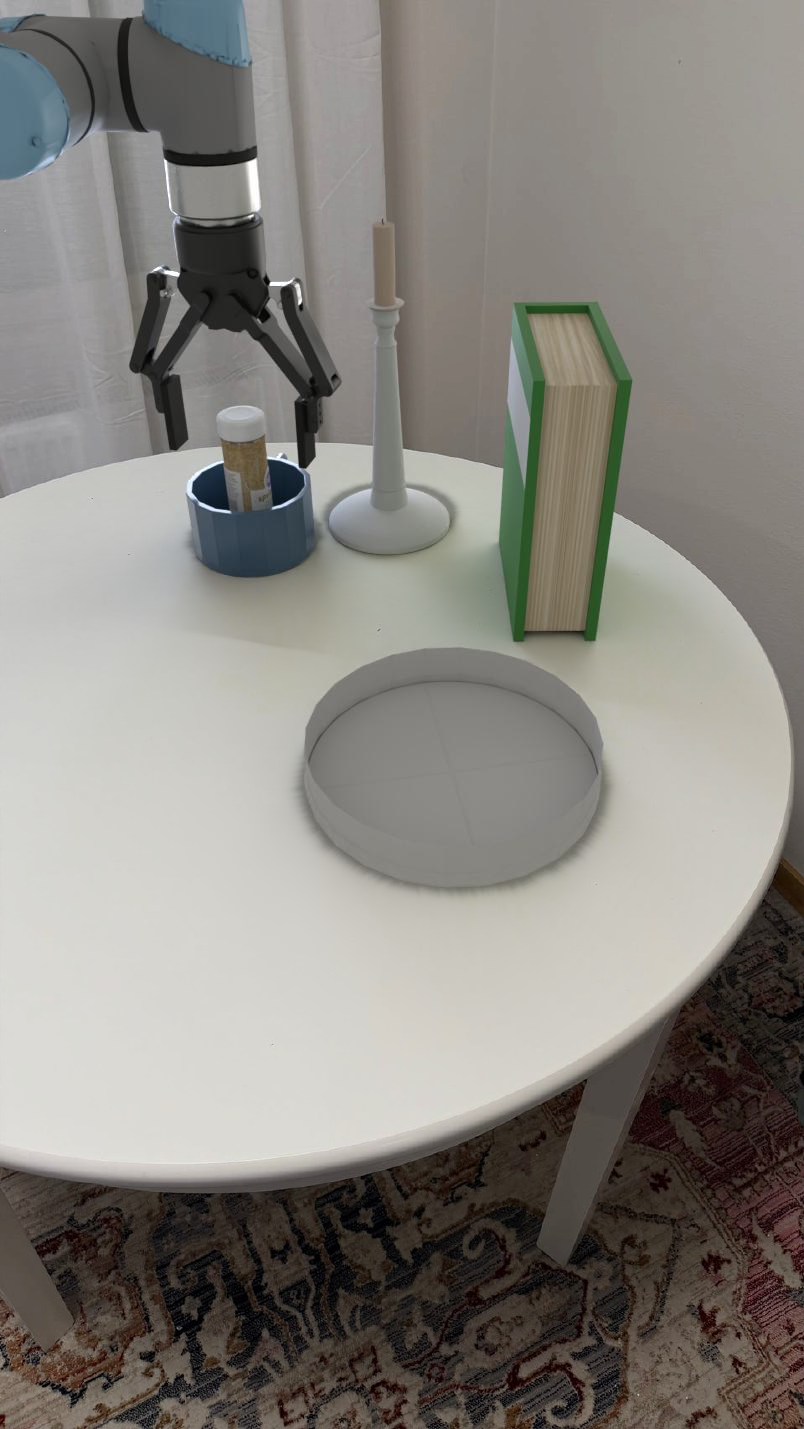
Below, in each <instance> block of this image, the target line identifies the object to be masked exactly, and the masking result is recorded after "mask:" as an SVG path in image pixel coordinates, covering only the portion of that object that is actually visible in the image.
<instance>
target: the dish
mask: <svg viewBox="0 0 804 1429" xmlns="http://www.w3.org/2000/svg"><path fill="white" fill-rule="evenodd" d="M304 731H305V732H304V750H303V754H304V755H303V756H304V773H303V785H304V790H305V795H306V798H307V800H308V803H309V806H310V809H311V812H312V815H313V818H314V820H315V822H316V823H317V824H318V825H319V827H320V828H321V829H322V830H323V832H324V833H325V834H326V836H327V837H328V839H329V840H331V842H332V843H333V845H334V846H336V847H337V848H339V849H340V850H341V851H342V852H344V853H346V854H347V855H348V856H349V857H351V858H352V859H354V860H355V861H357V862H358V863H360V864H361V865H362V866H364V867H366V868H369V869H371V870H374V871H376V872H379V873H381V874H384V875H387V876H389V877H392V878H394V879H396V880H398V881H402V882H408V883H414V884H419V885H424V886H425V885H426V886H431V887H438V888H467V887H470V888H471V887H487V886H488V887H489V886H491V885H492V886H493V885H495V884H499V883H503V882H507V881H511V880H515V879H519V878H523V877H526V876H528V875H531V874H532V873H534V872H536V871H538V870H539V869H542V868H543V867H545V866H547V865H549V864H551V863H553V862H555V861H557V860H559V859H560V858H561V857H562V856H563V855H564V854H565V853H567V852H568V851H569V849H571V848H572V847H573V846H574V845H575V844H576V843H577V842H578V841H579V840H581V838H583V836H584V835H585V833H586V831H587V829H588V827H589V825H590V823H591V821H592V819H593V817H594V815H595V813H596V811H597V809H598V808H597V807H598V802H599V800H600V795H601V794H600V793H601V783H602V775H603V771H602V759H603V751H604V741H603V737H602V734H601V731H600V727H599V722H598V719H597V718H596V716H595V714H594V713H593V712H592V710H591V709H590V707H589V706H588V705H587V703H586V702H585V700H584V699H583V697H582V696H581V695H580V694H579V693H577V692H576V691H575V690H574V689H573V688H572V687H570V686H569V685H568V684H566V683H565V682H564V681H563V680H562V679H560V678H559V677H558V676H557V675H555V674H553V673H551V672H548V671H547V670H545V669H543V668H541V667H539V666H537V665H535V664H533V663H531V662H530V661H527V660H525V659H522V658H521V659H520V658H517V657H514V656H511V655H507V654H503V653H500V652H497V651H492V650H483V649H477V648H469V647H458V646H457V647H425V648H419V649H415V650H410V651H405V652H399V653H394V654H391V655H388V656H385V657H382V658H380V659H377V660H375V661H372V662H369V663H366V664H364V665H362V666H360V667H358V668H357V669H355V670H354V671H352V672H351V673H349V674H347V675H346V676H344V677H342V678H341V679H340V680H338V681H336V682H335V683H334V684H333V685H332V686H331V687H330V689H328V691H327V692H325V694H324V695H323V696H322V697H321V698H320V699H319V701H317V703H316V704H315V706H314V708H313V711H312V713H311V715H310V717H309V720H308V721H307V724H306V726H305V730H304Z"/></svg>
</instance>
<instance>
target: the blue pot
mask: <svg viewBox="0 0 804 1429" xmlns="http://www.w3.org/2000/svg"><path fill="white" fill-rule="evenodd" d="M267 460H268V461H267V462H268V467H269V475H270V483H271V493H272V502H273V507H271V508H267V509H263V510H257V511H241V512H235V511H230V508H229V501H228V494H227V487H226V479H225V472H224V460H220V461H215V462H213V463H211V464H209V465H207V466H205V467H203V468H201V469H199V470H197V471H196V472H195V473H194V474H193V475H192V476H191V477H190V479H188V480H187V482H186V489H185V497H186V503H187V508H188V509H187V510H188V515H189V521H190V528H191V535H192V539H193V540H192V541H193V547H194V549H195V552H196V556H197V558H198V560H199V561H200V562H201V563H202V565H204V566H205V567H206V568H208V569H210V570H211V571H214V572H216V573H218V574H222V575H226V576H229V577H230V576H231V577H237V578H238V577H239V578H257V577H259V578H260V577H266V576H272V575H277V574H280V573H283V572H286V571H288V570H291V569H293V568H296V567H298V566H299V565H301V564H302V563H304V562H305V561H306V560H307V559H308V558H309V557H310V556H311V555H312V553H313V551H314V550H315V546H316V535H315V534H316V532H315V522H314V521H315V520H314V507H313V494H312V493H313V492H312V482H311V474H310V473H309V472H308V471H307V469H303V468H299V466H298V463H296V462H293V461H291V460H289V459H288V456H287V455H286V454H285V453H283V452H280V453H278V454H276V456H275V457H274V456H267Z"/></svg>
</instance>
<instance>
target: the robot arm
mask: <svg viewBox="0 0 804 1429" xmlns="http://www.w3.org/2000/svg"><path fill="white" fill-rule="evenodd" d="M243 1H244V0H142V5H143V9H142V10H141V15H138V16H134V17H125V18H122V17H90V16H89V17H88V16H61V15H60V16H58V15H47V14H44V13H36V12H35V13H32V14H29V15H21V16H5V17H1V18H0V181H11V180H17V179H20V178H22V177H26V176H31V175H33V174H35V173H37V172H39V171H42V170H43V171H44V170H45V169H47V168H48V167H50V166H51V165H53V164H54V163H55V161H56V160H57V159H58V158H59V157H60V156H62V154H64V153H65V152H66V151H67V150H69V149H71V148H72V147H74V146H76V145H77V144H79V143H80V142H82V141H83V140H85V139H87V138H88V137H90V136H91V135H93V134H95V133H145V134H146V133H159V136H160V141H161V144H162V146H161V148H162V156H163V158H164V159H163V160H164V168H165V169H164V170H165V175H166V186H167V187H166V188H167V195H168V202H169V209H170V211H171V212H172V213H174V214H175V215H176V216H175V217H174V220H173V221H172V223H171V224H172V231H173V239H174V247H175V253H176V260H177V262H178V265H179V272H177V271H172V270H171V269H170V267H169V266H168V265H166V264H162V265H160V266H158V267H156V268H154V269H153V270H152V271H150V272H149V273H147V275H146V278H145V279H146V294H147V295H146V296H147V300H146V303H145V306H144V309H143V312H142V317H141V321H140V324H139V328H138V331H137V335H136V338H135V341H134V346H133V350H132V352H131V356H130V359H129V363H128V364H129V365H128V367H129V370H130V371H131V372H132V373H133V374H137V375H138V374H141V375H144V376H146V377H147V378H148V379H149V381H150V383H151V387H152V394H153V401H154V407H155V410H156V412H157V413H158V414H163V417H164V422H165V429H166V436H167V442H168V450H169V451H175V452H177V451H178V450H180V448H181V447H182V446H183V445H184V444H186V442H188V441H189V440H190V439H189V431H188V424H187V418H186V411H185V402H184V396H183V395H184V394H183V389H182V381H181V374H178V373H177V374H176V373H171V372H172V371H173V370H174V369H175V368H174V367H175V365H176V364H177V363H178V360H179V359H180V358H181V356H182V355H183V354H184V353H185V350H186V349H187V347H189V345H190V344H191V342H192V340H193V339H194V337H195V336H196V334H197V333H198V332H199V330H200V329H201V327H202V325H204V326H206V327H207V328H208V330H212V331H218V330H219V331H220V330H227V331H229V332H232V333H239V334H242V332H244V331H246V332H247V334H248V335H249V336H250V338H252V340H254V341H256V342H258V343H259V344H260V345H261V347H262V348H263V349H264V350H265V352H266V353H267V354H268V355H269V357H270V358H271V360H272V361H273V362H274V363H275V365H276V366H277V367H278V369H279V370H280V371H281V372H282V373H283V375H284V376H285V377H286V380H288V381H289V383H290V384H291V385H292V386H293V388H294V389H295V390H296V392H297V393H298V394H299V396H298V397H296V399H295V400H294V401H293V403H294V404H293V406H294V419H295V420H294V421H295V434H296V447H297V448H296V449H297V464H298V466H299V468H303V469H304V470H307V468H308V467H309V466H310V465H311V463H312V462H313V461H314V460H315V459H316V458H317V453H316V452H317V450H316V434H318V432H319V431H320V430H321V429H322V426H323V424H324V413H323V412H324V410H323V397H325V398H330V397H332V395H333V394H334V393H335V392H336V391H337V390H338V389H339V387H340V386H341V385H342V383H343V382H342V377H341V375H340V374H339V371H338V369H337V367H336V364H335V363H334V360H333V358H332V356H331V355H330V352H329V350H328V348H327V346H326V343H325V341H324V340H323V337H322V335H321V333H320V331H319V329H318V327H317V324H316V322H315V321H314V318H313V315H312V314H311V312H310V309H309V307H308V306H307V301H306V294H305V286H304V282H303V281H302V279H300V278H299V277H292V279H291V280H290V281H271V279H270V277H269V275H268V272H267V253H266V252H267V251H266V240H265V238H266V237H265V227H264V226H265V224H264V219H263V217H261V215H260V213H258V212H259V211H260V210H261V207H262V206H263V203H262V190H261V180H260V168H259V167H260V166H259V156H258V155H259V154H258V145H257V143H258V142H257V131H256V130H257V129H256V113H255V98H254V83H253V56H252V55H251V52H250V44H249V36H248V35H249V34H248V28H247V27H248V26H247V20H246V13H245V4H244V2H243ZM177 290H178V291H179V293H180V294H181V296H182V297H183V299H184V300H185V302H186V303H187V304H188V305H189V307H188V309H187V311H186V312H185V314H184V315H183V317H182V318H181V320H180V321H179V324H178V326H177V328H176V329H175V331H174V332H173V333H172V335H171V337H170V338H169V340H168V341H167V342H166V344H165V346H164V347H163V349H162V350H161V352H160V353H159V355H158V357H157V358H155V355H156V351H157V348H158V345H159V341H160V338H161V335H162V332H163V328H164V325H165V321H166V317H167V315H168V311H169V308H170V305H171V301H172V297H173V296H174V295H175V294H176V293H177ZM271 299H272V300H274V301H275V303H276V307H277V309H278V310H281V311H282V312H283V317H284V319H285V321H286V324H287V326H288V329H289V330H290V332H291V334H292V336H293V338H294V340H295V342H296V345H297V347H298V348H299V349H298V348H296V346H295V344H294V343H293V342H292V341H291V340H290V339H289V337H288V336H287V335H286V333H285V332H284V330H283V329H282V328H281V327H280V325H279V322H278V318H277V317H276V316H275V314H274V313H273V311H272V310H271V309H270V308H269V306H268V303H269V301H270V300H271ZM299 351H300V352H299ZM170 373H171V374H170Z"/></svg>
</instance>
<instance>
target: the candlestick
mask: <svg viewBox="0 0 804 1429" xmlns="http://www.w3.org/2000/svg"><path fill="white" fill-rule="evenodd" d="M395 230H396V229H395V224H394V222H392V221H384V218H381V221H377V222H373V223H372V224H371V238H372V239H371V240H372V241H371V242H372V244H371V245H372V276H373V277H372V278H373V297H371V298H369V299H367V300H366V301H365V302H364V303H365V306H366V307H367V308H369V310H370V311H371V316H370V322H371V324H372V325H373V326H375V331H376V340H375V341H374V343H373V344H374V346H375V348H374V385H373V386H374V389H373V390H374V391H373V427H372V430H373V431H372V432H373V433H372V439H373V440H372V472H371V478H372V479H371V488H368V489H364V490H361V491H358V492H355V493H354V494H351V495H349V496H347V497H346V498H344V499H343V500H341V501H340V502H339V503H337V504H336V505H335V506H334V508H333V509H332V510H331V511H330V514H329V519H328V526H329V527H328V528H329V531H330V534H331V535H332V537H334V539H335V540H336V541H338V542H339V543H341V544H342V545H343V546H345V547H348V548H350V549H353V550H355V551H357V552H363V553H367V554H372V555H373V554H374V555H403V554H409V553H413V552H417V551H421V550H424V549H426V548H429V547H431V546H434V545H435V544H436V543H438V542H440V541H441V540H442V539H443V538H444V537H445V536H446V534H447V533H448V531H449V529H450V525H451V524H450V522H451V518H450V513H449V511H448V509H447V507H445V505H444V504H443V503H441V502H440V501H439V500H438V499H436V498H435V497H433V496H431V495H430V494H427V493H426V492H423V491H421V490H418V489H413V488H408V487H406V485H407V481H406V473H405V460H404V444H403V430H402V414H401V400H400V399H401V398H400V384H399V370H398V369H399V368H398V352H397V351H398V350H397V345H398V342H397V341H396V339H395V331H396V325H398V324H399V322H400V315H399V314H400V313H399V311H400V309H401V308H402V307H403V306H404V305H405V300H403V299H402V298H401V297H397V296H396V241H395V238H396V237H395V236H396V234H395V232H396V231H395Z"/></svg>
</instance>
